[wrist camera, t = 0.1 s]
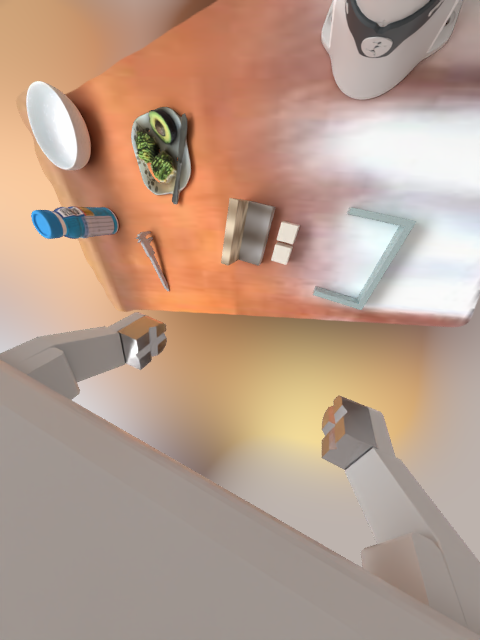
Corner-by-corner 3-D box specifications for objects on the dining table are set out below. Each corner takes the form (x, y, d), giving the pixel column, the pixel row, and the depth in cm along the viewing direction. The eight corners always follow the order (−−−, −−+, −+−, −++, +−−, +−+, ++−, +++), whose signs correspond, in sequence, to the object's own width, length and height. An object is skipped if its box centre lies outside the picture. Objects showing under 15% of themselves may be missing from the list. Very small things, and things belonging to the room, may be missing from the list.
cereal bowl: (46, 103, 55) (14, 91, 50) (84, 86, 50) (53, 70, 44) (74, 176, 63) (49, 173, 58) (110, 169, 58) (86, 164, 52)
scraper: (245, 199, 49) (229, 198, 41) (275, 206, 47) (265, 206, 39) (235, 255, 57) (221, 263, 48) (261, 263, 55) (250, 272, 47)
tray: (349, 207, 42) (351, 207, 39) (409, 220, 40) (416, 221, 37) (313, 290, 53) (313, 294, 50) (359, 304, 51) (361, 310, 48)
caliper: (148, 231, 63) (133, 233, 58) (151, 230, 63) (136, 232, 58) (168, 290, 72) (156, 297, 67) (170, 290, 72) (159, 296, 67)
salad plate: (203, 200, 53) (194, 200, 49) (153, 208, 59) (141, 208, 55) (188, 101, 44) (175, 90, 40) (130, 122, 50) (114, 115, 46)
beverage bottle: (123, 231, 66) (59, 238, 50) (108, 236, 70) (43, 245, 54) (111, 203, 63) (37, 201, 47) (96, 210, 67) (22, 211, 50)
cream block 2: (278, 242, 51) (275, 244, 48) (293, 246, 50) (291, 248, 47) (274, 257, 53) (271, 260, 50) (288, 261, 52) (286, 264, 49)
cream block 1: (284, 221, 48) (281, 222, 45) (300, 225, 47) (298, 226, 44) (279, 238, 50) (276, 240, 47) (294, 242, 49) (292, 244, 46)
